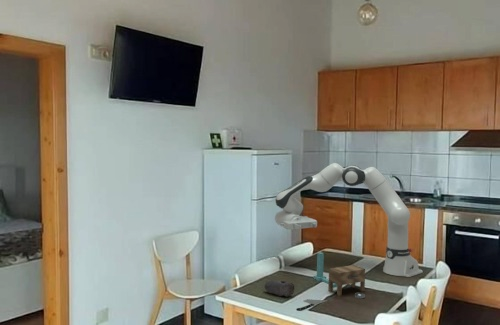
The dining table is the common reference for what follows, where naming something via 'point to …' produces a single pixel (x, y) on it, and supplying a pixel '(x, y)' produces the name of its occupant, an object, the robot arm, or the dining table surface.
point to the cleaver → (310, 304)
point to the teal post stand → (321, 269)
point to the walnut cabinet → (346, 277)
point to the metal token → (360, 295)
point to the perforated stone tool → (280, 287)
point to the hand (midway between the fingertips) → (308, 226)
